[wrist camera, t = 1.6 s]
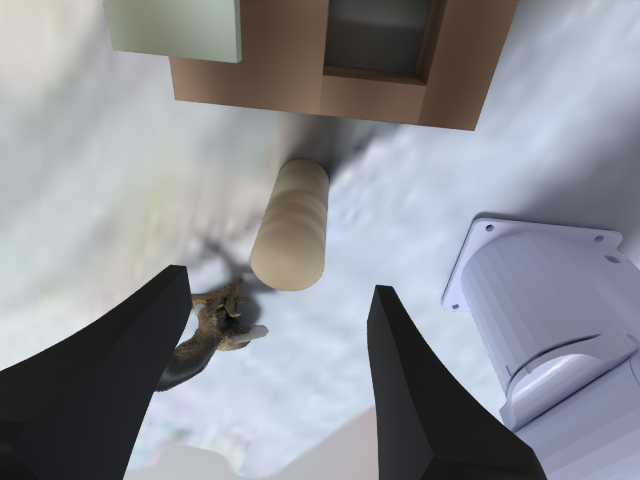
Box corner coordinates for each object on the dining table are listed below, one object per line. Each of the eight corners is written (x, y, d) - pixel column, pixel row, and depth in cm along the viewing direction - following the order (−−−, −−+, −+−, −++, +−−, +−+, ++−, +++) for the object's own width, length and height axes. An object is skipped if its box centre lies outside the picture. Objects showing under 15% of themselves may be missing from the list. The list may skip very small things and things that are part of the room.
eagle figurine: (159, 260, 24) (134, 353, 28) (187, 334, 20) (153, 435, 23) (255, 262, 29) (225, 341, 33) (296, 321, 24) (255, 406, 28)
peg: (331, 161, 21) (327, 237, 14) (326, 208, 23) (320, 294, 16) (277, 155, 21) (249, 229, 14) (276, 203, 22) (250, 287, 16)
